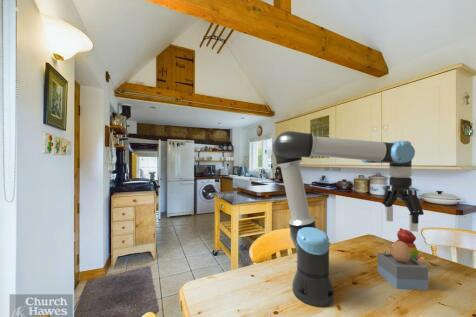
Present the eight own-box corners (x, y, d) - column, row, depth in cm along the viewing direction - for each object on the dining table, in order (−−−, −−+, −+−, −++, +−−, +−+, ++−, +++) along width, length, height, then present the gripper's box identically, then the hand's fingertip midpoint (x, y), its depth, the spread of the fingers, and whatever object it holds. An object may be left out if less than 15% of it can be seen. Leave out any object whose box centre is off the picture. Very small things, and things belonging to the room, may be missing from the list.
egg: (414, 267, 81) (414, 245, 82) (394, 264, 83) (394, 243, 84) (405, 259, 88) (405, 239, 88) (387, 257, 90) (387, 237, 90)
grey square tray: (396, 288, 80) (396, 266, 80) (377, 272, 92) (377, 252, 92) (428, 290, 79) (428, 267, 79) (404, 273, 91) (404, 253, 91)
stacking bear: (426, 273, 92) (425, 234, 92) (401, 270, 94) (401, 232, 94) (410, 261, 102) (410, 227, 102) (388, 259, 104) (388, 225, 104)
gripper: (436, 179, 74) (436, 236, 73) (389, 175, 99) (389, 217, 98) (415, 179, 74) (415, 235, 74) (373, 174, 99) (373, 217, 99)
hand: (400, 225), depth 86 cm, fingers open, 13 cm apart
